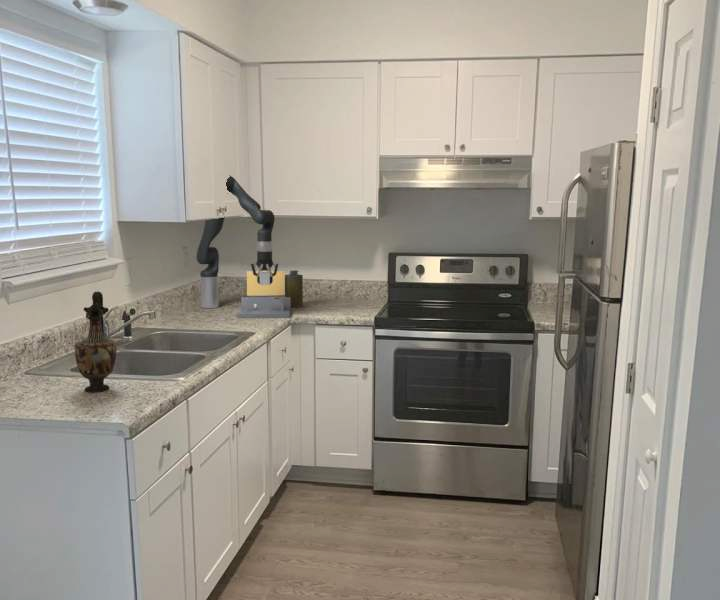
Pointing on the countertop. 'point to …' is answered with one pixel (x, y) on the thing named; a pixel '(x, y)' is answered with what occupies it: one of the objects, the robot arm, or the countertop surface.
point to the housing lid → (266, 290)
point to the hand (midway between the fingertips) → (265, 283)
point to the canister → (294, 288)
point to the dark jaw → (276, 304)
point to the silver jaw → (264, 278)
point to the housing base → (263, 308)
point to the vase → (96, 348)
